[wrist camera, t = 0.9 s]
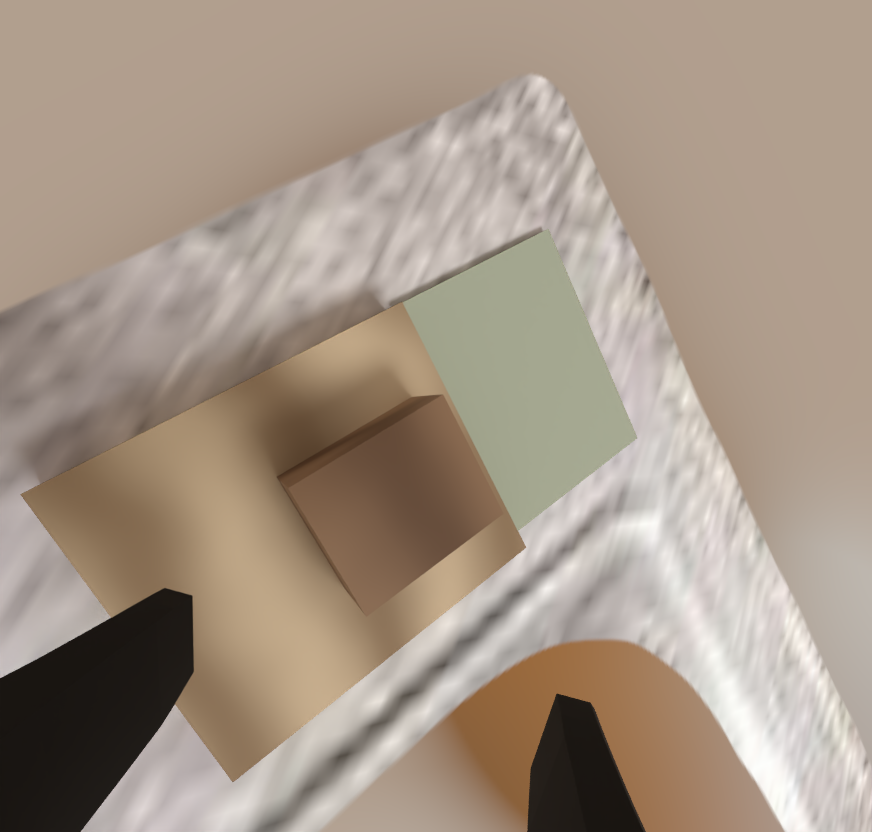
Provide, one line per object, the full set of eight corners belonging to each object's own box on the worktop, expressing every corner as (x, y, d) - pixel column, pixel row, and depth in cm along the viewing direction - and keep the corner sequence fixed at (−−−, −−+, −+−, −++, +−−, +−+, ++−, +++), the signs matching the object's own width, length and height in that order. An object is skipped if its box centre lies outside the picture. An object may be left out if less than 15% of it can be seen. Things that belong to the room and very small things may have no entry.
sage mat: (507, 533, 24) (511, 535, 24) (391, 308, 22) (394, 306, 22) (631, 437, 28) (637, 437, 27) (543, 231, 25) (548, 228, 25)
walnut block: (344, 588, 19) (366, 616, 16) (276, 476, 18) (288, 488, 15) (466, 500, 21) (503, 513, 19) (411, 396, 20) (443, 394, 18)
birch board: (230, 747, 19) (232, 782, 18) (41, 485, 17) (20, 494, 15) (502, 537, 24) (526, 547, 23) (386, 310, 22) (402, 301, 20)
